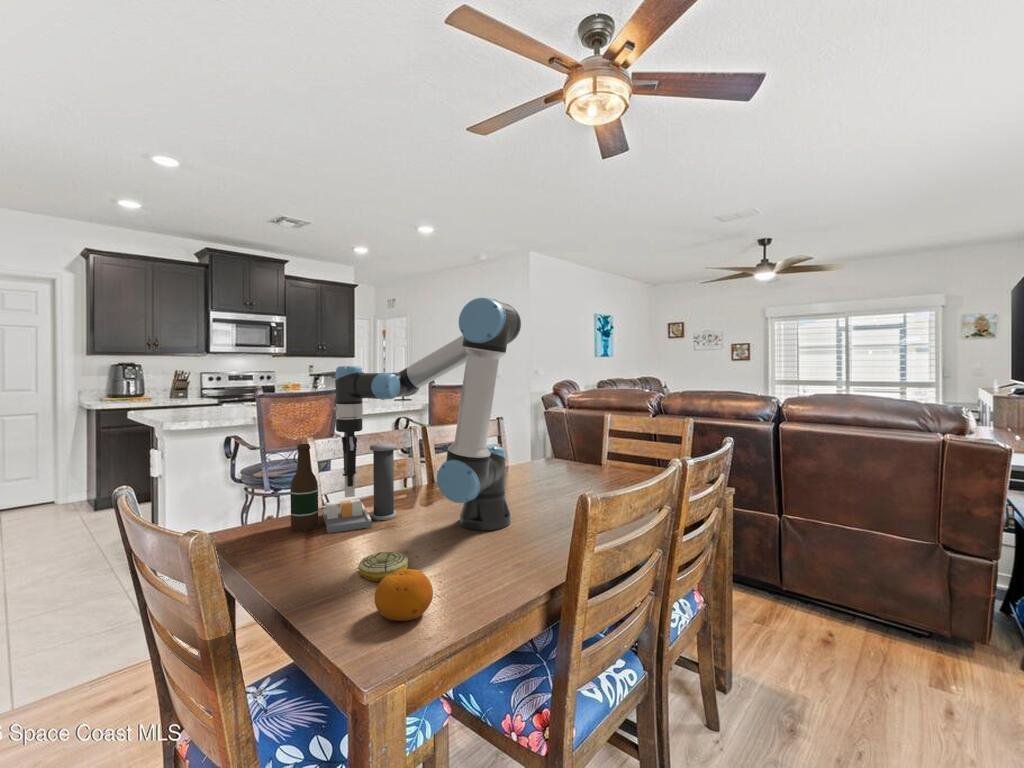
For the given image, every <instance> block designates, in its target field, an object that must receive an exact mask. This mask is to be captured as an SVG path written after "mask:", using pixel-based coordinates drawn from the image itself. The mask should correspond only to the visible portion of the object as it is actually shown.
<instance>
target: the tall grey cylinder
mask: <svg viewBox="0 0 1024 768" xmlns="http://www.w3.org/2000/svg"><path fill="white" fill-rule="evenodd" d="M397 448H398V444H397V443H396V444H395V443H375V444H371V445H369V450H370V451H372V452H373V453H372V454H373V468H372V469H373V472H372V473H373V511H371V512H370V514H369V516H370V518H371V520H372V519H373V520H372V521H378V522H379V521H381V520H383V521H389V519H390V520H393V519H392V518H394V519H395V517H396V516H397V517H398V512H397V511H396V510H395V503H394V501H395V500H394V498H395V495H394V493H395V491H394V490H395V485H394V484H395V481H394V479H395V478H394V476H395V475H394V474H395V473H394V472H395V471H394V467H395V466H394V464H395V463H394V461H395V460H394V457H395V456H394V452H395V451H396V450H397ZM397 517H396V518H397ZM381 522H382V521H381Z"/></svg>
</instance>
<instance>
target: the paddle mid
mask: <svg viewBox="0 0 1024 768" xmlns="http://www.w3.org/2000/svg"><path fill="white" fill-rule="evenodd" d="M350 500H351V499H350ZM350 500H342V501H341V500H340V506H339V507H340V513H341V515H342V518H343V517H351V516H352V503H351V501H350Z"/></svg>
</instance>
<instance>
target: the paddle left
mask: <svg viewBox="0 0 1024 768" xmlns="http://www.w3.org/2000/svg"><path fill="white" fill-rule="evenodd" d="M325 505H326V506H325V508H326V515H327V518H328V519H334V518H338V507H339V505H338V502H337V501H332V502H326V503H325Z"/></svg>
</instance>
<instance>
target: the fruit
mask: <svg viewBox="0 0 1024 768" xmlns="http://www.w3.org/2000/svg"><path fill="white" fill-rule="evenodd" d="M433 597H434V589H433V585H432V582H431V581H430V579H429V577H428V576H427V575H426V574H425V573H424V572H422V571H421V570H418V569H415V568H414V569H412V568H407V569H404V570H399V571H396V572H395V573H392V574H390V575H388V576H386V577H385V578H384V579H383V580H381V581H379V583H378V584H377V587H376V589H375V592H374V605H375V607H376V610H377V611H378V612H379V613H380V614H381V615H382V616H383V617H384V618H385V619H387V620H391V621H399V622H403V621H404V622H405V621H412V620H415V619H418V618H419V617H420V616H422V615H423V614H424V613H425V612H426V611H427V609H428V608H429V607H430V605H431V603H432V602H433Z"/></svg>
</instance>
